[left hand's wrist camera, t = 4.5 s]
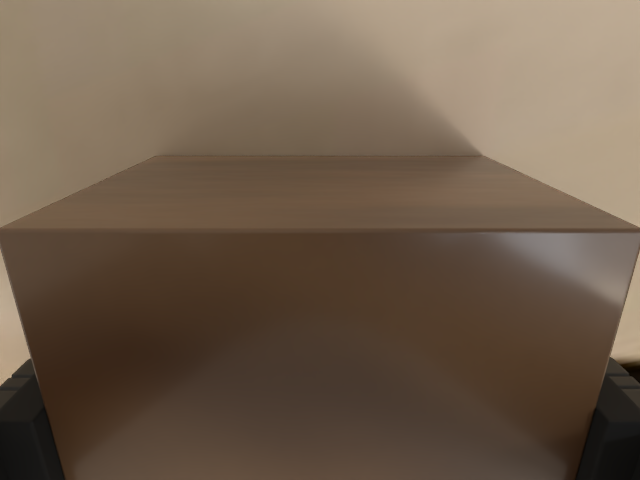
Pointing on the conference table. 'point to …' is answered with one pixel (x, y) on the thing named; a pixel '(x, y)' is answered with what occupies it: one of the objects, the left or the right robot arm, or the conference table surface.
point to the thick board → (320, 319)
